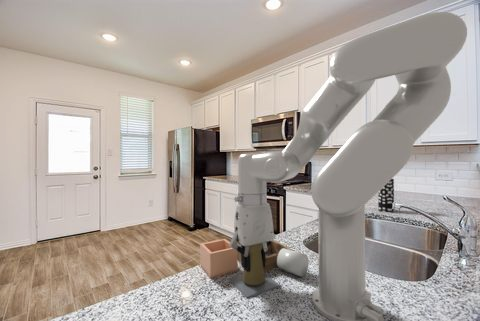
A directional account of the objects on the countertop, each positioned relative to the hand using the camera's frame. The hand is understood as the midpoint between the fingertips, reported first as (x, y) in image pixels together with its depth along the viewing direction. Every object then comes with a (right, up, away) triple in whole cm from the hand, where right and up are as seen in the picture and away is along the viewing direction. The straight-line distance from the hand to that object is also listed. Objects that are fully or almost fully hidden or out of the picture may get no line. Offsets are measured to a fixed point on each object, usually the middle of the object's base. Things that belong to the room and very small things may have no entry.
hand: (253, 266), depth 60 cm
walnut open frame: (+4, -4, +13) cm, 14 cm away
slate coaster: (0, -4, 0) cm, 4 cm away
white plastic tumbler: (+12, -4, +5) cm, 14 cm away
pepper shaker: (0, -3, 0) cm, 3 cm away
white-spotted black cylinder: (+88, -3, +80) cm, 119 cm away
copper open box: (-10, -4, +8) cm, 14 cm away
